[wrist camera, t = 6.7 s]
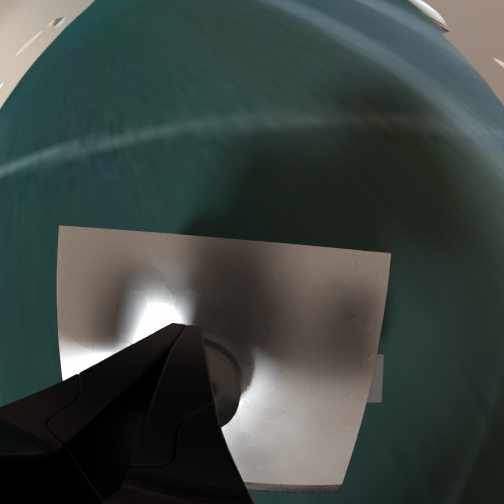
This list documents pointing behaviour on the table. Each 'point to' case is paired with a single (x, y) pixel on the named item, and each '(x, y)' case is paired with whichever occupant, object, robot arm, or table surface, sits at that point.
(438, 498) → the table surface
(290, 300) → the lid
